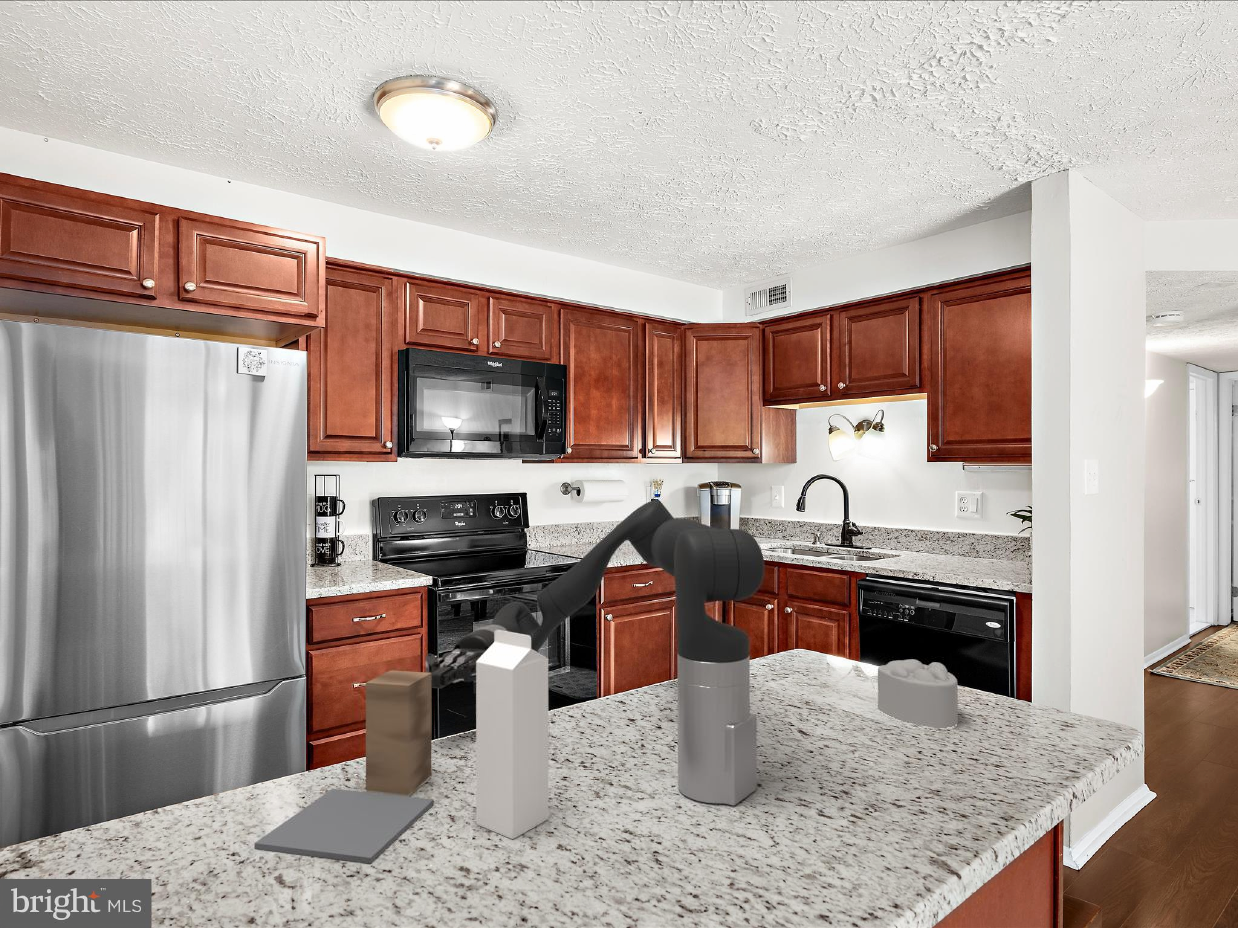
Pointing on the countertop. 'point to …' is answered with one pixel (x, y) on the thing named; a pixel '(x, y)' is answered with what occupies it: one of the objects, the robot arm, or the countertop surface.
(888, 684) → the lumpy-topped squat cylinder
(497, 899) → the countertop surface
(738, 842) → the countertop surface
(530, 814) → the milk
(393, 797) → the mat
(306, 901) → the countertop surface
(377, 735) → the light wood block
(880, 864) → the countertop surface
